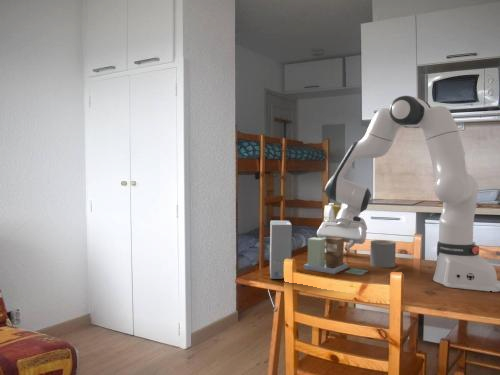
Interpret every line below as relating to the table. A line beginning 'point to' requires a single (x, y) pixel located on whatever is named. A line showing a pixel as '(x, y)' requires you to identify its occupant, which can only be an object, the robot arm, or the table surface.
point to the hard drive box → (279, 246)
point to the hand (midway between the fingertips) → (335, 248)
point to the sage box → (316, 252)
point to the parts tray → (326, 270)
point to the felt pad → (356, 271)
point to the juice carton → (331, 214)
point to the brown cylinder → (334, 252)
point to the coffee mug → (382, 253)
